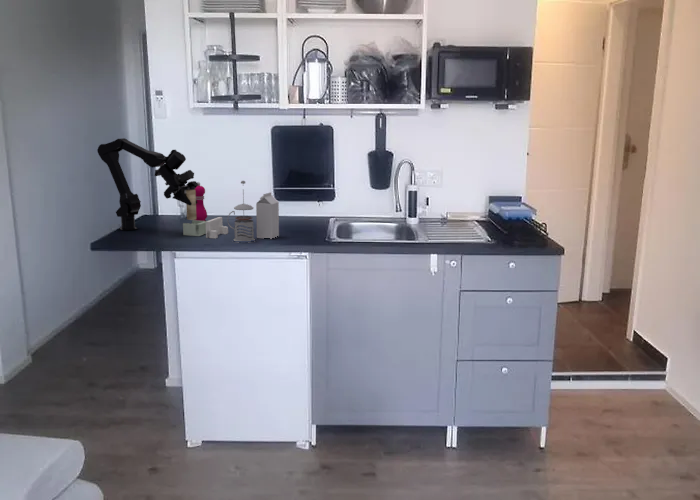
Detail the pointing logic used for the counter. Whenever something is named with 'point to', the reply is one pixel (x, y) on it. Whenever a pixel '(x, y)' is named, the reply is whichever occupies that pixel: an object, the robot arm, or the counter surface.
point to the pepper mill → (200, 203)
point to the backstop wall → (215, 228)
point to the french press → (247, 223)
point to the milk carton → (267, 217)
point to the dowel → (191, 208)
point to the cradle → (194, 228)
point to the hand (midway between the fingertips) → (193, 204)
